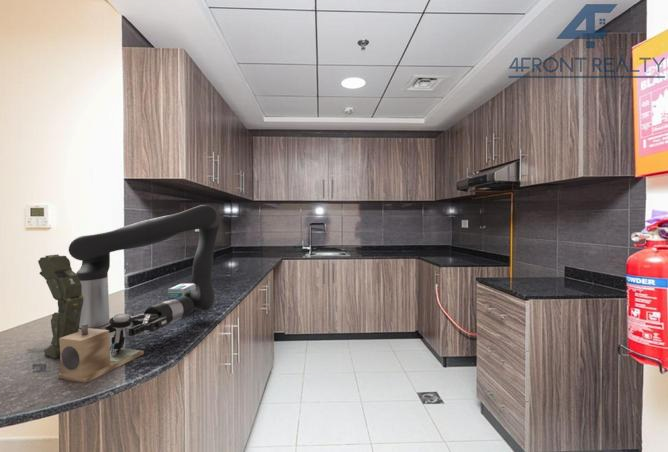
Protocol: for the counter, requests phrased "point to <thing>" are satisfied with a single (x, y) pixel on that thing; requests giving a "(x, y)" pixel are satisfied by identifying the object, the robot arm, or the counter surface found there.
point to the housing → (90, 355)
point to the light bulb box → (180, 290)
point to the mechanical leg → (62, 298)
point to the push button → (119, 331)
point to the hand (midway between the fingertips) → (117, 331)
